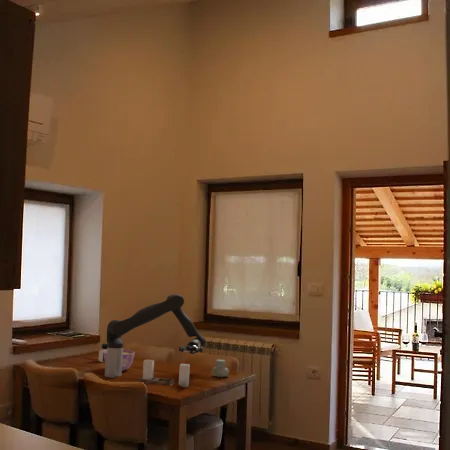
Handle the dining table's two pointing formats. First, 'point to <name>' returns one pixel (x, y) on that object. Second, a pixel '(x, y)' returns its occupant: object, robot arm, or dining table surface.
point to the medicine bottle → (101, 354)
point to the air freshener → (220, 369)
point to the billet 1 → (148, 370)
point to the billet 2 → (184, 375)
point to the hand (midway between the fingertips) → (189, 350)
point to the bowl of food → (124, 358)
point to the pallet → (158, 381)
